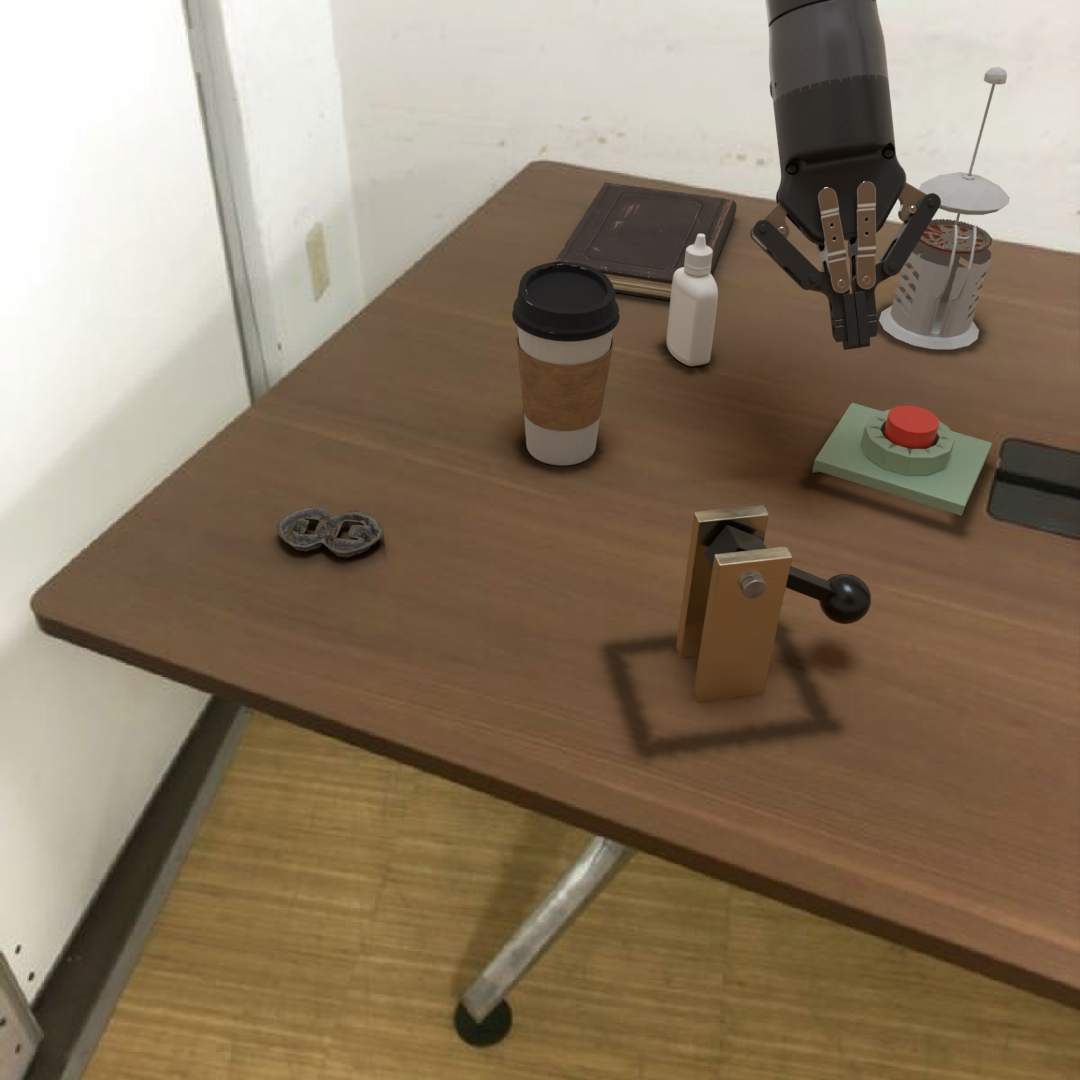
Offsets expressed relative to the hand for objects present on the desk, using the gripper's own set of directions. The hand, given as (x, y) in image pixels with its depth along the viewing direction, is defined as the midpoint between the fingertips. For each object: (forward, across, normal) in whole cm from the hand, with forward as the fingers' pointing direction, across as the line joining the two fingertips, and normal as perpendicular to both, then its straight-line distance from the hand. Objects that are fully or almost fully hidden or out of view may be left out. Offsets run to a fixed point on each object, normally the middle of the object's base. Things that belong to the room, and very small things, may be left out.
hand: (857, 347), depth 77 cm
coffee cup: (+5, -22, +16) cm, 28 cm away
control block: (+11, +5, +15) cm, 20 cm away
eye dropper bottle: (-2, -10, +30) cm, 32 cm away
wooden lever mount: (+20, -13, -7) cm, 25 cm away
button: (+8, +6, +13) cm, 17 cm away
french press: (0, +15, +37) cm, 40 cm away
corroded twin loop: (+9, -40, +3) cm, 41 cm away
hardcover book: (-14, -12, +50) cm, 53 cm away
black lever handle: (+15, -8, -10) cm, 20 cm away
